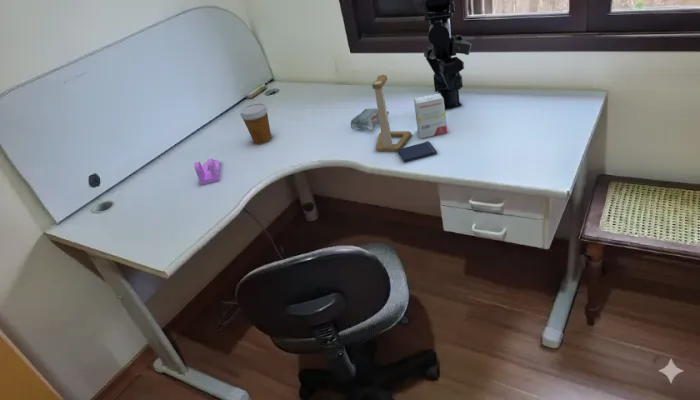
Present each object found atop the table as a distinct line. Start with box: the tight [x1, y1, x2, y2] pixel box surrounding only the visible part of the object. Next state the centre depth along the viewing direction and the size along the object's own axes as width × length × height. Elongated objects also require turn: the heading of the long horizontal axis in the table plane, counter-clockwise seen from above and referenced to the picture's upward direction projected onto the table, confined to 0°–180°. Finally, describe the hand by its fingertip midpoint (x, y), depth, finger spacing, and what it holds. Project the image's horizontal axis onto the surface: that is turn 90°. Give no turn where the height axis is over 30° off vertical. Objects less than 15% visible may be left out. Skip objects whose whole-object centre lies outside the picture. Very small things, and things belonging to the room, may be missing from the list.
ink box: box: [413, 93, 448, 139], centre depth 160 cm, size 9×5×12 cm, turn 95°
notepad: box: [397, 140, 438, 163], centre depth 154 cm, size 10×7×1 cm
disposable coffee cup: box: [239, 102, 272, 145], centre depth 179 cm, size 10×10×12 cm
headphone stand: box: [371, 74, 412, 153], centre depth 156 cm, size 10×11×22 cm
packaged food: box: [350, 107, 390, 131], centre depth 174 cm, size 9×12×5 cm
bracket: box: [193, 158, 221, 186], centre depth 166 cm, size 13×6×7 cm, turn 9°
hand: (445, 85), depth 159 cm, fingers open, 9 cm apart
